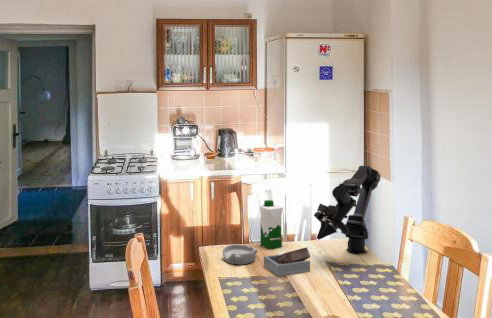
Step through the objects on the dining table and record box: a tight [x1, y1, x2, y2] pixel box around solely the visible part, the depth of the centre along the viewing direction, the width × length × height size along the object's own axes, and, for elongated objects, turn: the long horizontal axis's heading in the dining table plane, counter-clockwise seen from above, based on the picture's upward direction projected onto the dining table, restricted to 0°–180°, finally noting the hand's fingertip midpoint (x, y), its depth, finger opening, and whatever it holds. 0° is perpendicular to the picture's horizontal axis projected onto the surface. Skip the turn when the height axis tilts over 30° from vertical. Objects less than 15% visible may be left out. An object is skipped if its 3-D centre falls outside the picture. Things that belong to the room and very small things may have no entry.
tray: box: [263, 253, 311, 277], centre depth 220 cm, size 14×12×4 cm
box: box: [276, 247, 312, 265], centre depth 220 cm, size 6×4×12 cm
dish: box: [222, 243, 258, 266], centre depth 232 cm, size 14×14×5 cm
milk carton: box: [259, 199, 284, 250], centre depth 249 cm, size 9×9×20 cm
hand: (317, 238), depth 224 cm, fingers closed
